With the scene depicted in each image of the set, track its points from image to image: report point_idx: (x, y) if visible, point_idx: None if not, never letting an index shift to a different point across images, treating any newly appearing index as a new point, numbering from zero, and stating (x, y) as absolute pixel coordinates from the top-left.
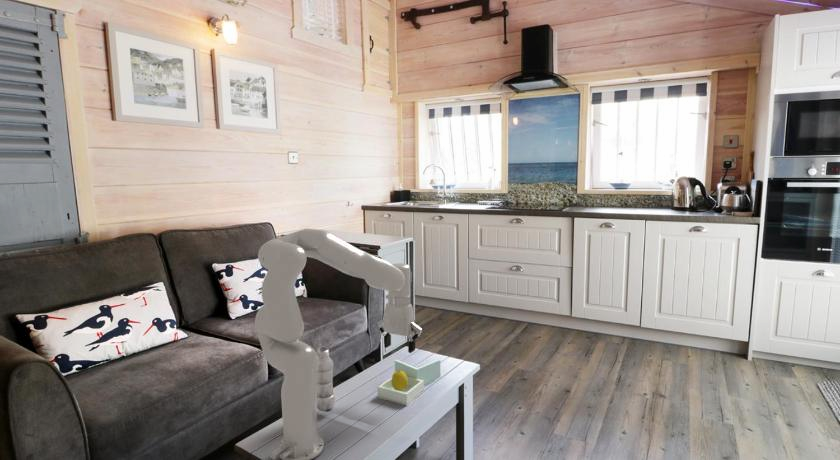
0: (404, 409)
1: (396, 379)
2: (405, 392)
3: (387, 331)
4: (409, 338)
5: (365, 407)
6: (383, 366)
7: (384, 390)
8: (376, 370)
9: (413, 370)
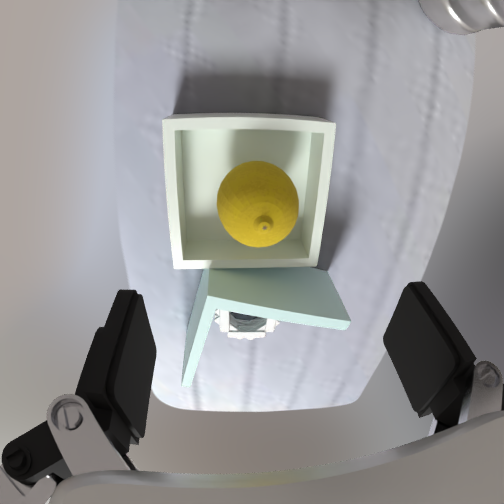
0: (166, 86)
1: (257, 174)
2: None
3: (490, 431)
4: (91, 434)
5: (323, 34)
6: None
7: (295, 118)
8: None
9: (231, 293)
